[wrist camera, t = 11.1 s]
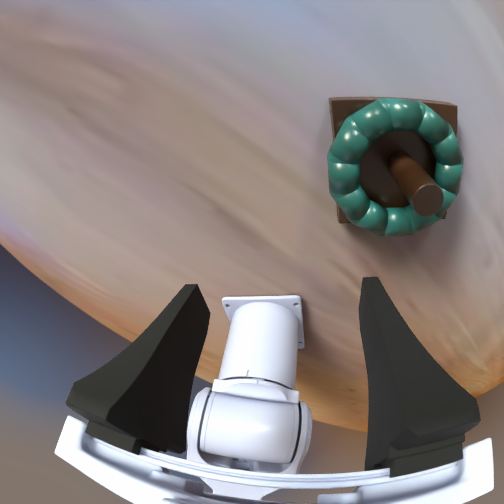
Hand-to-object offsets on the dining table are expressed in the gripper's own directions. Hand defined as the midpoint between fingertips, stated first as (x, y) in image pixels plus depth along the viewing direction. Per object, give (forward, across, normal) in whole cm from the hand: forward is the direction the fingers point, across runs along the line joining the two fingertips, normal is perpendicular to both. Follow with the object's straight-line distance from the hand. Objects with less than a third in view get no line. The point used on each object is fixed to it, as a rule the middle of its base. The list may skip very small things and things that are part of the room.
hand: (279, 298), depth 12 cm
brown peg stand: (+10, -8, -2) cm, 13 cm away
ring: (+8, -8, -2) cm, 11 cm away
